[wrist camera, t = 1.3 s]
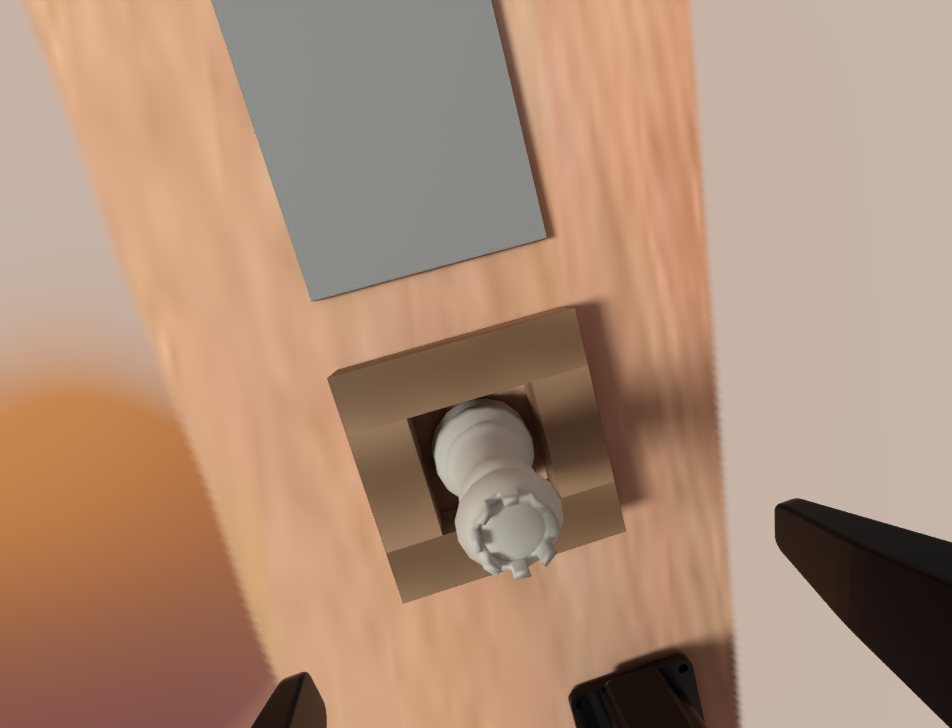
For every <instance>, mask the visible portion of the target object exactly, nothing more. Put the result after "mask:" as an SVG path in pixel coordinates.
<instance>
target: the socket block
mask: <svg viewBox="0 0 952 728" xmlns="http://www.w3.org/2000/svg"><path fill="white" fill-rule="evenodd" d="M327 379H328V382H329V385H330V388H331V391H332V394H333V397H334V400H335V403H336V406H337V409H338V412H339V415H340V418H341V421H342V424H343V427H344V430H345V433H346V436H347V439H348V442H349V445H350V447H351V450H352V453H353V456H354V459H355V462H356V465H357V468H358V471H359V474H360V477H361V480H362V483H363V486H364V489H365V492H366V495H367V498H368V501H369V504H370V507H371V510H372V513H373V516H374V519H375V522H376V525H377V527H378V530H379V533H380V536H381V539H382V542H383V545H384V548H385V551H386V554H387V557H388V560H389V563H390V566H391V569H392V572H393V575H394V578H395V581H396V584H397V587H398V590H399V593H400V596H401V599H402V602H403V603H406V602H410V601H413V600H416V599H419V598H422V597H425V596H428V595H431V594H434V593H437V592H440V591H443V590H447V589H450V588H453V587H456V586H459V585H462V584H465V583H468V582H471V581H474V580H477V579H480V578H484V577H487V576H490V575H493V574H491V573H489V572H488V571H486V570H484V569H483V566H482V565H481V564H479V563H477V562H476V561H474V560H472V559H471V558H469V556H468V555H467V553H466V552H465V550H464V549H463V548H462V546H461V545H460V543H459V542H458V537H457V532H456V526H455V518H456V514H457V510H458V507H457V508H454V509H451V510H448V511H444V512H441V511H440V508H439V505H438V501H437V498H436V495H435V492H434V488H433V485H432V482H431V479H430V475H429V472H428V469H427V466H426V462H425V459H424V456H423V453H422V449H421V446H420V443H419V440H418V436H417V433H416V430H415V427H414V423H413V420H412V417H414V416H418V415H421V414H425V413H428V412H431V411H435V410H438V409H442V408H445V407H448V406H452V405H455V404H459V403H462V402H465V401H469V400H472V399H476V398H479V397H482V396H486V395H489V394H493V393H496V392H499V391H503V390H506V389H510V388H513V387H517V386H520V385H523V384H524V387H525V390H526V394H527V398H528V402H529V406H530V410H531V414H532V418H533V421H534V425H535V429H536V433H537V437H538V441H539V445H540V449H541V453H542V456H543V460H544V464H545V468H546V472H547V476H548V479H547V481H549V482H550V483H551V484H552V486H553V487H554V489H555V491H556V492H557V494H558V495H559V497H560V499H561V503H562V510H563V518H564V520H563V524H562V527H561V537H559V538H558V540H557V541H556V543H555V544H554V545H553V547H554V549H555V551H556V552H557V553H556V554H558V553H561V552H564V551H567V550H570V549H573V548H576V547H579V546H582V545H585V544H588V543H591V542H595V541H598V540H601V539H604V538H607V537H610V536H613V535H616V534H619V533H622V532H625V531H626V529H625V524H624V520H623V516H622V511H621V507H620V503H619V498H618V494H617V490H616V485H615V481H614V476H613V472H612V468H611V463H610V459H609V455H608V450H607V446H606V442H605V437H604V433H603V429H602V424H601V420H600V415H599V411H598V407H597V402H596V398H595V394H594V389H593V385H592V381H591V376H590V372H589V368H588V363H587V359H586V354H585V350H584V346H583V341H582V337H581V333H580V328H579V324H578V320H577V315H576V311H575V308H566V307H558V308H555V309H551V310H548V311H544V312H541V313H537V314H533V315H530V316H526V317H523V318H519V319H516V320H512V321H509V322H505V323H502V324H498V325H495V326H491V327H487V328H484V329H480V330H477V331H473V332H470V333H466V334H463V335H459V336H456V337H452V338H449V339H445V340H441V341H438V342H434V343H431V344H427V345H424V346H420V347H417V348H413V349H410V350H406V351H403V352H399V353H396V354H392V355H388V356H385V357H381V358H378V359H374V360H371V361H367V362H364V363H360V364H357V365H353V366H350V367H346V368H342V369H339V370H337V371H335V372H334V373H333V374H332V375H331V376H329V377H328V378H327ZM500 572H502V571H500Z"/></svg>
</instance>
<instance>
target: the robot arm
mask: <svg viewBox="0 0 952 728" xmlns="http://www.w3.org/2000/svg"><path fill="white" fill-rule="evenodd" d="M775 539H776V542H777V545H778V547H779V548H780V550H781V551H782V553H783V554H784V555H785V556H786V557H787V558H788V560H789V561H790V562H791V563H792V564H793V565H794V566H795V568H796V569H797V570H798V571H799V572H800V573H801V575H802V576H803V577H804V578H805V579H806V580H807V581H808V583H809V584H810V585H811V586H812V587H813V588H814V589H815V590H816V592H817V593H818V594H819V595H820V596H821V598H822V599H823V600H824V601H825V602H826V603H827V604H828V606H829V607H830V608H831V609H832V610H833V611H834V612H835V614H836V615H837V616H838V617H839V618H840V619H841V620H842V621H843V622H844V623H845V625H846V626H847V627H848V628H849V629H850V630H851V631H852V632H853V633H854V634H855V635H856V636H857V637H858V638H859V639H860V640H861V641H862V642H863V643H864V644H865V645H866V646H867V647H868V648H869V649H870V650H871V651H872V652H874V654H875V655H876V656H877V657H878V658H879V659H880V660H881V661H882V662H883V663H885V664H886V666H888V667H889V668H890V669H891V670H892V671H893V672H894V673H895V674H896V675H897V676H898V677H899V678H900V679H901V680H902V681H903V682H904V683H905V684H906V685H907V686H908V687H909V688H910V689H911V690H912V691H913V692H914V693H915V694H916V695H917V696H918V697H919V698H920V699H921V700H922V701H923V702H924V703H925V704H926V705H927V706H928V707H929V708H930V709H931V710H932V711H933V712H934V713H935V714H936V715H937V716H938V717H939V718H940V719H942V720H943V721H944V722H945V723H946V724H947V725H948V726H949V727H950V728H952V542H948V541H945V540H941V539H938V538H935V537H931V536H928V535H924V534H921V533H917V532H914V531H911V530H907V529H903V528H900V527H897V526H893V525H890V524H886V523H883V522H879V521H875V520H872V519H869V518H865V517H862V516H859V515H855V514H852V513H848V512H845V511H841V510H838V509H834V508H831V507H827V506H824V505H820V504H817V503H813V502H810V501H807V500H803V499H798V498H796V499H791V500H788V501H785V502H783V503H780V504H778V505H777V506H776V507H775ZM680 665H681V666H680ZM568 698H569V704H570V708H571V711H572V715H573V719H574V722H575V726H576V728H708V727H707V726H706V724H705V722H704V717H703V713H702V708H701V703H700V699H699V694H698V689H697V685H696V680H695V675H694V671H693V666H692V663H691V662H690V660H689V659H688V658H687V656H686V655H684V654H681V653H680V654H676V655H673V656H670V657H667V658H664V659H661V660H658V661H656V662H653V663H650V664H647V665H644V666H641V667H638V668H635V669H633V670H630V671H627V672H624V673H621V674H618V675H615V676H612V677H610V678H607V679H604V680H601V681H598V682H595V683H592V684H589V685H587V686H584V687H581V688H578V689H575V690H574V691H572V692H571V693H570V695H569V697H568ZM579 700H581V701H579ZM578 701H579V702H578ZM251 728H327V715H326V708H325V704H324V701H323V699H322V697H321V695H320V693H319V691H318V689H317V687H316V685H315V684H314V682H313V680H312V678H311V676H310V675H309V673H307V672H301V673H298V674H295V675H292V676H290V677H287V678H285V679H283V680H282V681H281V682H280V683H279V684H278V686H277V687H276V689H275V690H274V692H273V694H272V695H271V697H270V698H269V700H268V702H267V703H266V705H265V706H264V708H263V709H262V711H261V712H260V714H259V716H258V717H257V719H256V720H255V722H254V724H253V725H252V727H251Z"/></svg>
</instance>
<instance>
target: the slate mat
mask: <svg viewBox="0 0 952 728" xmlns="http://www.w3.org/2000/svg"><path fill="white" fill-rule="evenodd" d="M211 1H212V4H213V7H214V10H215V13H216V16H217V19H218V22H219V25H220V28H221V31H222V34H223V37H224V40H225V43H226V46H227V49H228V52H229V55H230V58H231V61H232V64H233V67H234V70H235V73H236V76H237V79H238V82H239V85H240V88H241V91H242V94H243V97H244V100H245V103H246V106H247V109H248V112H249V115H250V118H251V121H252V124H253V127H254V130H255V133H256V136H257V139H258V142H259V145H260V148H261V151H262V154H263V157H264V160H265V163H266V166H267V169H268V172H269V175H270V178H271V181H272V184H273V187H274V190H275V193H276V196H277V199H278V202H279V205H280V208H281V211H282V214H283V217H284V220H285V223H286V226H287V229H288V232H289V235H290V238H291V241H292V244H293V247H294V250H295V253H296V256H297V259H298V262H299V265H300V268H301V271H302V274H303V277H304V280H305V283H306V286H307V289H308V292H309V295H310V298H311V301H317V300H321V299H324V298H328V297H332V296H336V295H339V294H343V293H347V292H350V291H354V290H358V289H361V288H365V287H369V286H372V285H376V284H380V283H384V282H387V281H391V280H395V279H398V278H402V277H406V276H409V275H413V274H417V273H421V272H424V271H428V270H432V269H435V268H439V267H443V266H446V265H450V264H454V263H458V262H461V261H465V260H469V259H472V258H476V257H480V256H483V255H487V254H491V253H495V252H498V251H502V250H506V249H509V248H513V247H517V246H520V245H524V244H528V243H531V242H535V241H539V240H543V239H545V238H547V236H546V232H545V228H544V223H543V219H542V215H541V210H540V206H539V202H538V198H537V193H536V189H535V185H534V181H533V176H532V172H531V168H530V163H529V159H528V155H527V151H526V146H525V142H524V138H523V134H522V129H521V125H520V121H519V116H518V112H517V108H516V104H515V99H514V95H513V91H512V87H511V82H510V78H509V74H508V69H507V65H506V61H505V57H504V52H503V48H502V44H501V40H500V35H499V31H498V27H497V22H496V18H495V14H494V10H493V5H492V1H491V0H211Z"/></svg>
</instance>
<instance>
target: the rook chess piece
mask: <svg viewBox="0 0 952 728" xmlns="http://www.w3.org/2000/svg"><path fill="white" fill-rule="evenodd" d="M431 450H432V455H433V461H434V466H435V468H436V473H437V475H438V476H439V478H440V479H441V481H442V482H443V484H444V485H445V487H446V488H447V489H448V490H449V491H450V492H452V493H453V494H455V495H456V496H458V497H459V506H458V510H457V514H456V518H455V526H456V532H457V537H458V542H459V543H460V545H461V546H462V548H463V549H464V550H465V552H466V553H467V555H468V556H469V558H471V559H472V560H474V561H476V562H477V563H479V564H481V565H482V566H483V569H484V570H486V571H488V572H489V573H491V574H493V575H494V576H496V577H498V575H499V573H500V571H512V574H513V578H514V580H516V579H521V578H526V577H530V576H531V574H530V571H529V569H528V567H529V566H530V565H532V564H533V563H535V562H536V561H538V560H540V561H541V562H542V563H543V564H544V565H545V566H547V565H548V564H549V562H550V561H551V560H552V559H553V557H554V556H555V555H556V553H557V552H556V551H555V549H554V547H553V545H554V544H555V543H556V541H557V540H558V538H559V537H561V527H562V524H563V520H564V518H563V510H562V503H561V499H560V497H559V495H558V494H557V492H556V491H555V489H554V487H553V486H552V484H551V483H550V482H549V481H547V480H546V479H544V478H543V477H541V476H540V475H538V474H537V473H536V472H535V471H534V470H533V469H532V464H533V460H534V447H533V440H532V435H531V433H530V432H529V429H528V427H527V426H526V424H525V422H524V421H523V419H522V417H521V416H520V414H519V413H518V412H517V411H515V410H514V409H512V408H511V407H510V406H508V405H507V404H505V403H504V402H501V401H496V400H491V399H487V398H481V399H475V400H470V401H465V402H463V403H461V404H459V405H458V406H456V407H455V408H453V409H452V410H450V411H448V412H447V413H446V415H445V416H444V417H443V419H442V420H441V421H440V423H439V424H438V426H437V427H436V428H435V433H434V437H433V441H432V445H431Z"/></svg>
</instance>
